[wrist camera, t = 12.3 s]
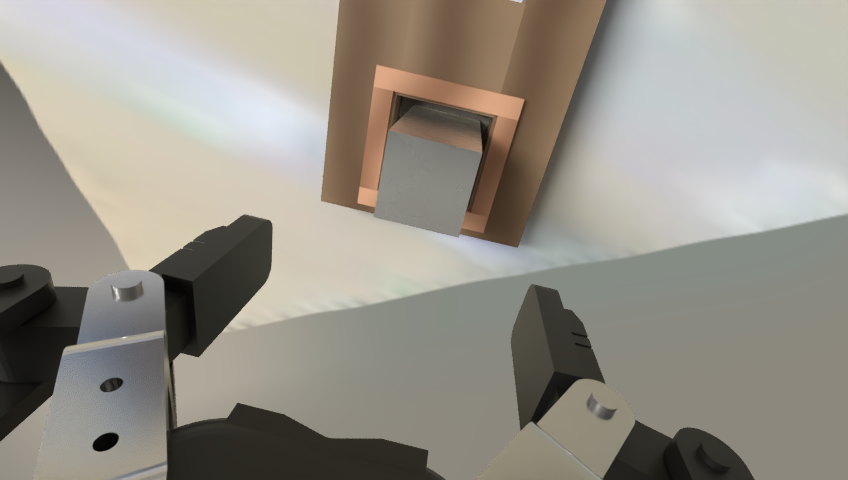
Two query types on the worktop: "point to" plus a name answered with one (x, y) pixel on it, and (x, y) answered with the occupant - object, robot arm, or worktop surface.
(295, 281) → the worktop surface
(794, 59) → the worktop surface
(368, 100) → the socket board
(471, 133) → the steel peg
